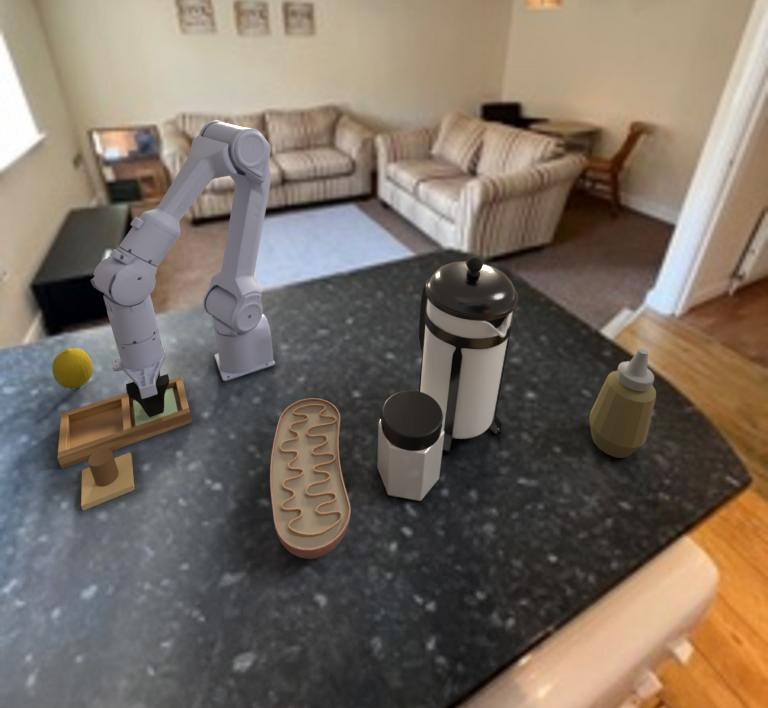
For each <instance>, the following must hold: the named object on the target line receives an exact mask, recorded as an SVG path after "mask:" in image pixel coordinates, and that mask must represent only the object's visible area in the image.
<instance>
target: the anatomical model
mask: <svg viewBox="0 0 768 708" xmlns="http://www.w3.org/2000/svg"><path fill="white" fill-rule="evenodd" d="M340 429H341V413H340V411H339V409H338V408H337V407H336V406H335V405H334V404H333V403H332V402H330V401H328V400H326V399H322V398H319V397H318V398H316V397H315V398H314V397H309V398H304V399H300V400H297V401H295V402H293V403H291V404H290V405H288V406H287V407H286V408H285V409H284V410H283V412H282V413H281V414H280V416H279V419H278V422H277V425H276V429H275V434H274V438H273V443H272V450H271V455H270V456H271V457H270V465H269V466H270V468H269V488H270V500H271V501H270V502H271V510H272V518H273V524H274V528H275V532H276V534H277V537H278V540H279V541H280V543H281V545H282V546H283V547H284V548H285V549H286V550H287V551H288V553H290V554H292V555H293V556H295V557H298V558H301V559H307V560H313V559H318V558H322V557H323V556H326V555H328V554H330V553H331V552H332V551H334V550H335V549H336V548H337V547H338V545H339V544H340V543H341V542H342V541H343V538H344V537H345V535H346V533H347V530H348V528H349V524H350V520H351V514H352V508H351V502H350V499H349V496H348V492H347V488H346V486H345V481H344V476H343V473H342V472H343V471H342V467H341V460H340Z"/></svg>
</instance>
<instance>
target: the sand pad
mask: <svg viewBox="0 0 768 708" xmlns="http://www.w3.org/2000/svg"><path fill="white" fill-rule="evenodd" d="M87 464H88V467H86V468H83V469H82V470H81V490H80V491H81V492H80V493H81V495H80V507H81V509H82V511H86V510H89V509H91V508H94V507H97V506H99V505H101V504H104V503H105V502H108V501H111V500H113V499H116V498H118V497H121V496H123V495H126V494H128V493H130V492H133V491H135V488H136V487H135V479H134V478H135V476H134V468H133V467H134V465H133V455H132V453H131V452H127V453H123V454H122V455H119V456H116V457H114V453H113V451H111V450H110V449H107V448H104V449H100V450H98V451H96V452H94V453H93V454H92V455H91V456H90V457H89V459H88V460H87Z"/></svg>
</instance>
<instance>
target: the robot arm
mask: <svg viewBox="0 0 768 708" xmlns="http://www.w3.org/2000/svg"><path fill="white" fill-rule="evenodd" d="M271 150H272V146H271V144H270V142H269V141H268V140H267V139H266V137H265V136H264V135H263V133H262V132H260V131H259V130H258V129H256V128H253V127H252V128H251V127H244V126H240V125H236V124H230V123H227V122H224V121H223V120H211V121H209V122H207V123H206V124H204V125H203V126H202V128H201V129H200V132H199V135H196V137H194V139H193V140H192V141H191V147H190V151H189V155H188V156H187V158H186V160H185V161H184V163H183V165H182V166H181V168H180V170H179V171H178V173H177V175H176V176H175V178H174V179H173V181H172V183H171V185H170V186H169V188H168V189H167V190H166V193H165V194H164V196H163V197H162V199H161V200H160V202H159V204H158V206H157V207H156V208H153V209H150V210H146V211H143V212H141V214H140V216H139V217H137V216H136V217H134V218H133V219H132V220H131V222H130V226H131V228H130V230H129V231H128V233H127V234H126V235H125V237H124V238H123V239H122V240H121V242H120V244H119V245H118V246H117V248H116V249H113V250H112V252H111V253H110V255H109V256H108V257H107V258H104V259H102V260H100V262H99V263H98V264H97V265H96V267H95V268H94V270H93V277H92V278H91V279H90V283H91V285H92V286H93V288H95V289H96V290H97V291H99V292H100V293H103V294H104V295H103V301H104V304H105V307H106V313H107V317H108V320H109V324H110V327H111V331H112V335H113V338H114V341H115V345H116V348H117V351H118V356H119V358H118V359H115V360H113V361H112V370H113V372H120V371H122V372H124V373H125V375H127V377H128V378H130V380H131V381H132V382H128V383H126V384H125V391H126V393H127V394H128V396H129V397H130V398H132V399H134V400H136V401H137V402H138V403H139V404H140V405H141V406H142V408H143V409H144V411H145V412H146V414H147V415H148V416H149V417H152V416H155V415H158V414H161V413H163V412H164V397H165V392H166V389H167V387H168V385H169V380H170V378H169V374H168V373H166V374H162V375H161V369H162V366H163V364H164V362H165V359H166V350H165V348H164V346H163V343H162V339H161V334H160V330H159V326H158V321H157V317H156V313H155V309H154V304H153V301H152V297H151V294H152V293H153V292H154V291H155V288H156V284H157V283H156V282H157V281H156V275H157V273H158V268H159V266H160V265H161V264H162V262H163V261H164V259H165V258H166V256H167V255H168V253H169V251H170V250H171V249H172V248H173V246H174V244H175V243H176V241H177V240H178V239H179V237H180V235H182V234H181V233H182V231H181V225H180V221H181V219H182V218H183V217H184V216H185V214H186V213H187V212H188V211H189V210H190V208H191V207H192V206H193V204H194V203H195V202H196V201H197V199H198V198H199V197H200V196H201V194H202V193H203V192H204V191H205V190H206V188H207V187H208V185H209V184H210V183H211V182H212V180H215V179H219V178H225V177H230V178H231V179H232V181H233V182H234V183H235V186H234V192H233V197H232V204H231V209H230V217H229V222H228V229H227V234H226V241H225V245H224V246H225V247H224V252H223V259H222V265H221V270H220V272H218V273H216V274H215V275H213V276H212V277H211V279H210V284H209V287H208V289H207V290H206V292H205V294H204V296H203V298H202V307H203V310H204V311H205V312H206V314H208V315H210V316H211V319H212V322H213V329H214V335H215V342H216V347H217V353H215V354H214V355H213V356H214V360H215V362H216V365H217V368H218V371H219V374H220V377H221V379H222V382H227V381H232V380H235V379H237V378H240V377H243V376H247V375H249V374H252V373H256V372H258V371H261V370H264V369H267V368H270V367H273V366H275V365H276V361H275V360H274V351H273V349H274V348H273V340H272V333H271V328H270V324H269V321H268V319H267V316H266V315H265V314H264V306H263V302H262V297H263V291H262V289H261V287H260V285H259V283H258V281H257V280H256V277H255V272H256V266H257V262H258V261H257V260H258V255H259V249H260V245H261V239H262V232H263V226H264V222H265V216H266V210H267V205H268V198H269V194H270V188H271V182H272V174H271V168H270V157H271Z"/></svg>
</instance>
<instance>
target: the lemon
mask: <svg viewBox="0 0 768 708" xmlns="http://www.w3.org/2000/svg"><path fill="white" fill-rule="evenodd" d="M51 368H52V376H53V378H54V380H55V382H56V383H57V384H58V385H59V386H61V387H63V388H64V389H65V388H66V389H76V388H81V387H83V386H84V385H85V384H86V383H87V382H89V380H90V379H91V377H92V375H93V371H94V365H93V361H92V359H91V357H90V356H89V354H88V353H87V352H85V351H84V350H83V349H80V348H78V347H77V348H76V347H75V348H74V347H71V348H66V349H64V350H62V351H61V352H59V353H57V355H56V356H55V357H54V359H53V362H52V367H51Z"/></svg>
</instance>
